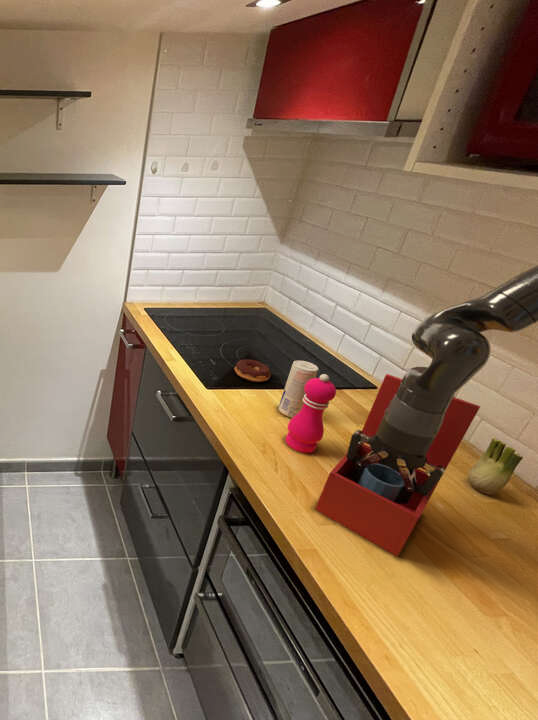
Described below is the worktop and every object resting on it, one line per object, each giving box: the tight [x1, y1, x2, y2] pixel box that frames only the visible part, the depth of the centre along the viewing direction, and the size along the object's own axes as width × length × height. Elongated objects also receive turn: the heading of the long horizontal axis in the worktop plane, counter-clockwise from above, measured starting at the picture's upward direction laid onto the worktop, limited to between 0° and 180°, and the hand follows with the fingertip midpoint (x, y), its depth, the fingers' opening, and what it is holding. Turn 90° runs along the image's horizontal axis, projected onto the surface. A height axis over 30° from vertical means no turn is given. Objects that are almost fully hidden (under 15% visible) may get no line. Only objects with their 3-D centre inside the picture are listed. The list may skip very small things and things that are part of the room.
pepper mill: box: [285, 373, 337, 454], centre depth 105 cm, size 7×7×20 cm
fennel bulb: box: [467, 437, 524, 496], centre depth 94 cm, size 6×5×12 cm
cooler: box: [314, 443, 441, 557], centre depth 88 cm, size 16×14×10 cm
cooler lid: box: [361, 373, 481, 471], centre depth 88 cm, size 16×14×5 cm
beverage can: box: [277, 360, 319, 419], centre depth 118 cm, size 6×6×15 cm
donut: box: [234, 359, 272, 383], centre depth 138 cm, size 10×10×4 cm
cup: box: [358, 463, 405, 503], centre depth 88 cm, size 6×6×8 cm
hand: (377, 490), depth 88 cm, fingers closed on cup, 6 cm apart
